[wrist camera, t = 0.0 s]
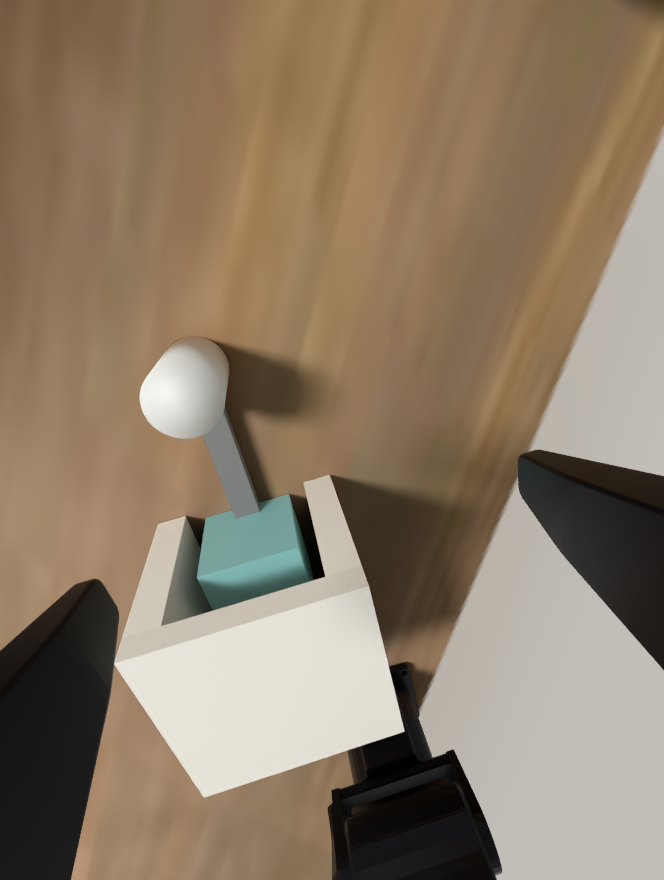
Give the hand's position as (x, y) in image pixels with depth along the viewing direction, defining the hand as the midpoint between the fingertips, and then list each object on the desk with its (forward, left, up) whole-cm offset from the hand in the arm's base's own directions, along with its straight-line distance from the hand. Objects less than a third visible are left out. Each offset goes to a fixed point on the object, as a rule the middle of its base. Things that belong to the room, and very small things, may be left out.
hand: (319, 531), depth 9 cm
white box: (-12, +4, -15) cm, 20 cm away
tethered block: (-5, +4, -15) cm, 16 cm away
